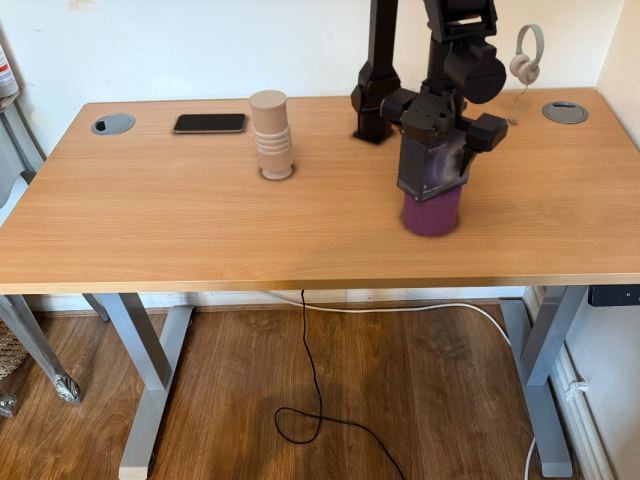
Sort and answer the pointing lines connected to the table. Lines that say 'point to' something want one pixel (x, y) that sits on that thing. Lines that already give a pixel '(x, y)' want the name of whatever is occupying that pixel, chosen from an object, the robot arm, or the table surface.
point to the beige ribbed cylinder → (272, 133)
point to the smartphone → (209, 123)
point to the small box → (431, 166)
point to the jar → (432, 213)
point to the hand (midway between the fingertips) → (436, 166)
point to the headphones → (527, 59)
